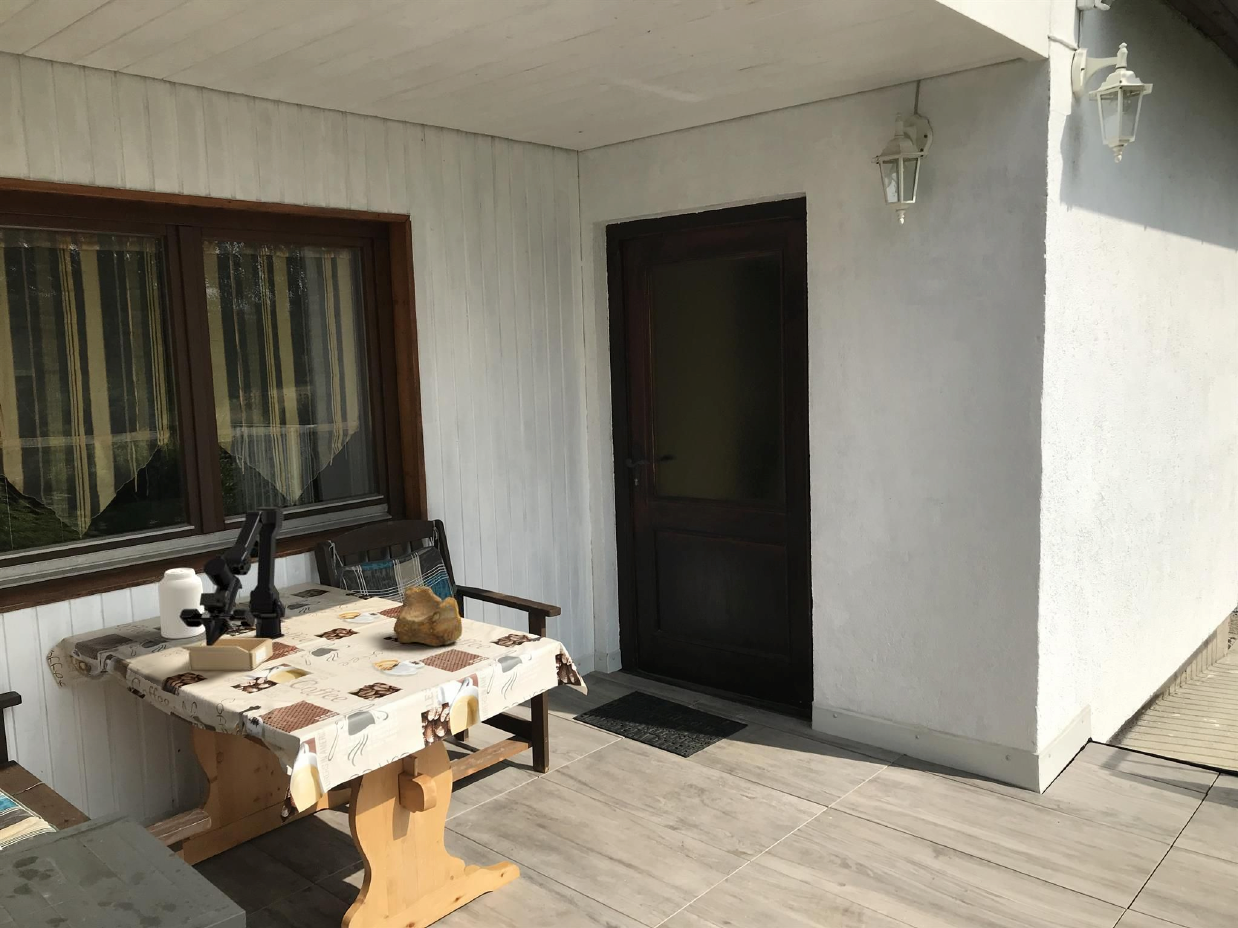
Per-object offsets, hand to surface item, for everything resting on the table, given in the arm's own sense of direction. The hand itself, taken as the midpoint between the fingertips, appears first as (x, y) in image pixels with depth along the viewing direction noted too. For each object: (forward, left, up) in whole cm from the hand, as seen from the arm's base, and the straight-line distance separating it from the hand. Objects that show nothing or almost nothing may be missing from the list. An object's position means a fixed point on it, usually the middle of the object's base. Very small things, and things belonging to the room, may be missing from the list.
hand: (208, 646), depth 261 cm
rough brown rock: (-56, +20, -9) cm, 60 cm away
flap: (-5, -4, -4) cm, 7 cm away
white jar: (-17, -46, -9) cm, 50 cm away
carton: (-10, -7, -9) cm, 15 cm away
